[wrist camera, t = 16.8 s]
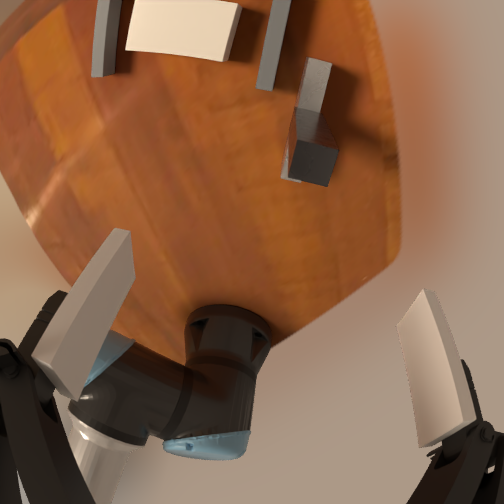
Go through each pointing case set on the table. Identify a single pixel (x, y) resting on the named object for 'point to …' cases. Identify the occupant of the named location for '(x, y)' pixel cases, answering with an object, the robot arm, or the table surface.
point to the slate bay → (109, 31)
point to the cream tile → (184, 27)
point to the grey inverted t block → (310, 130)
